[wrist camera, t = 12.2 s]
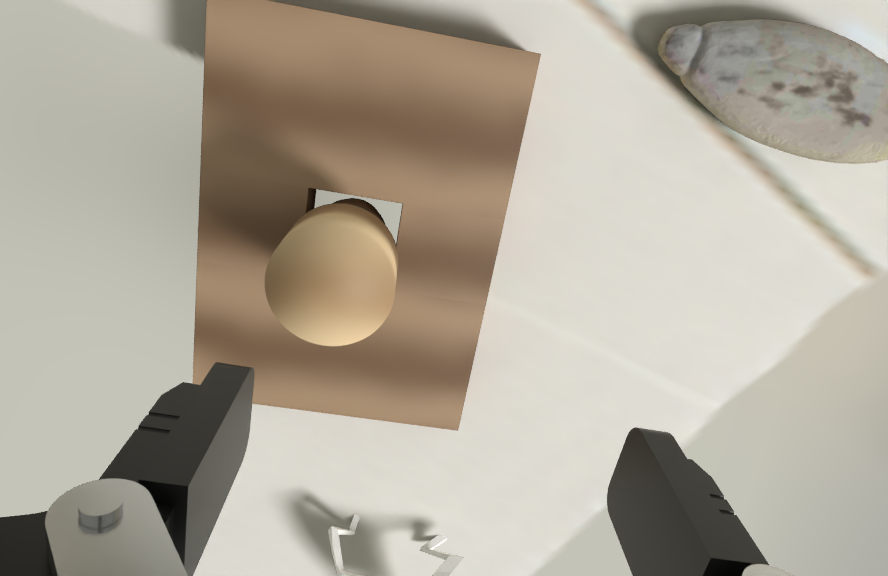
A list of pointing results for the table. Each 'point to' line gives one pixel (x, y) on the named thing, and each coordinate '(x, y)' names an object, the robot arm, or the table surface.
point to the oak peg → (334, 274)
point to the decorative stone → (786, 86)
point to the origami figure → (442, 571)
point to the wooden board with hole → (361, 174)
